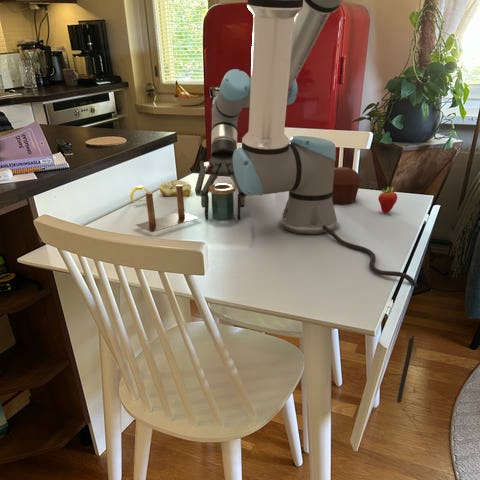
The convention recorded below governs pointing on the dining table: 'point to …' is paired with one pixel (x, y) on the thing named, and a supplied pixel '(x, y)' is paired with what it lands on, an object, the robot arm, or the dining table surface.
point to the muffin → (345, 185)
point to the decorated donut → (174, 188)
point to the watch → (135, 190)
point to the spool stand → (167, 220)
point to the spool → (222, 201)
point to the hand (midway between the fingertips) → (222, 217)
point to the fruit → (387, 199)
